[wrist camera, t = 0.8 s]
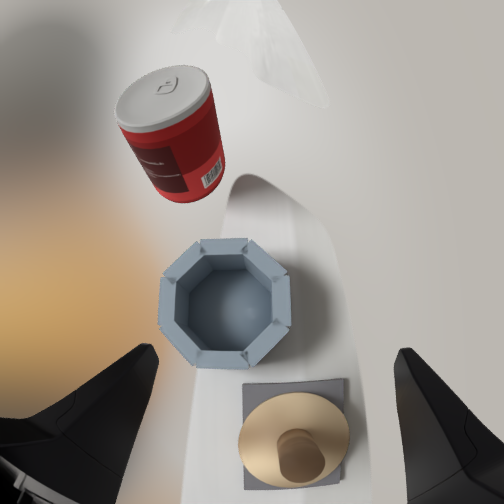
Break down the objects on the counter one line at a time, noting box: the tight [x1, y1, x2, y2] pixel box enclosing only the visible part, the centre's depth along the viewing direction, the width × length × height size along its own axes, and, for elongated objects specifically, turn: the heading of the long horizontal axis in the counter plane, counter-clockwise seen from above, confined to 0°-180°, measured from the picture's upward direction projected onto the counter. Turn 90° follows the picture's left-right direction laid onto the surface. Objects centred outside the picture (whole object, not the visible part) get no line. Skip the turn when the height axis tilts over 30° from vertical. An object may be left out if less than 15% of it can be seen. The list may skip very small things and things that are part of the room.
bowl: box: [158, 238, 291, 369], centre depth 20 cm, size 9×9×4 cm
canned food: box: [114, 65, 225, 203], centre depth 22 cm, size 8×8×11 cm
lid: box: [238, 392, 350, 488], centre depth 15 cm, size 9×9×6 cm
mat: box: [242, 378, 344, 490], centre depth 18 cm, size 10×8×1 cm
